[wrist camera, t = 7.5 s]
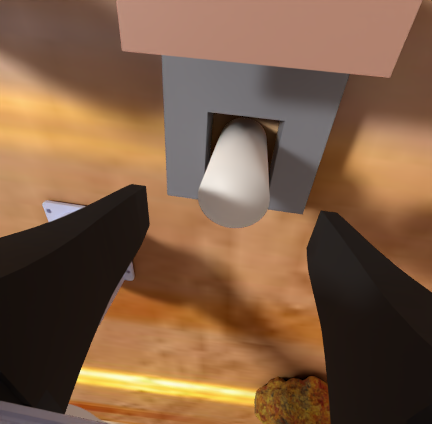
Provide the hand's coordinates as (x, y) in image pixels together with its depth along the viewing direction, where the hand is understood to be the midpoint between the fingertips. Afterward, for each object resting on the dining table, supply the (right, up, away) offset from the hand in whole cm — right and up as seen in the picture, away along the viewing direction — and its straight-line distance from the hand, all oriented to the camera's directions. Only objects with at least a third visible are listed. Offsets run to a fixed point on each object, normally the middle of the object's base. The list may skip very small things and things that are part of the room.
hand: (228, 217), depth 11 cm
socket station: (+2, +8, +6) cm, 10 cm away
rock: (+11, -26, +28) cm, 40 cm away
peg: (+1, +5, +8) cm, 10 cm away
